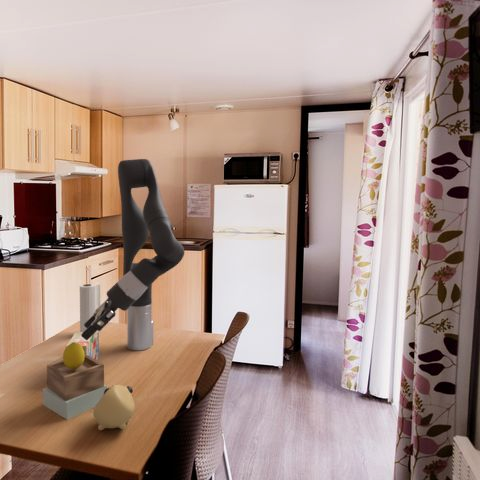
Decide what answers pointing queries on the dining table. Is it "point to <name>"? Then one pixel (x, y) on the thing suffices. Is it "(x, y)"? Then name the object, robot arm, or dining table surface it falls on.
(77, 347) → the lemon
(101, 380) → the wooden box
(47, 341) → the dining table surface
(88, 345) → the stack of blocks
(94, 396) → the tower base
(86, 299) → the paper towel roll
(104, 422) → the cream pug plush toy
